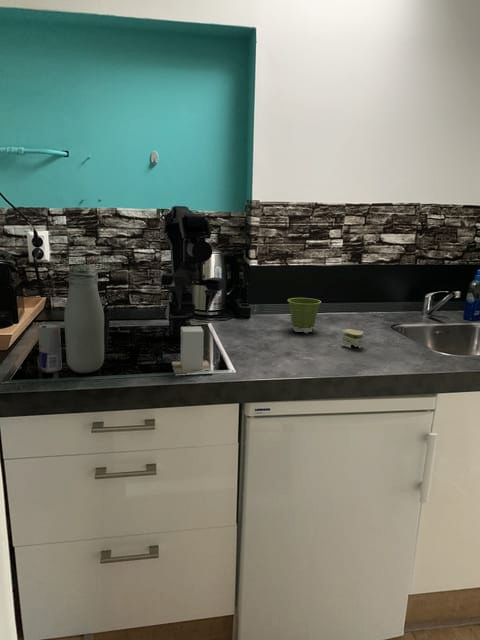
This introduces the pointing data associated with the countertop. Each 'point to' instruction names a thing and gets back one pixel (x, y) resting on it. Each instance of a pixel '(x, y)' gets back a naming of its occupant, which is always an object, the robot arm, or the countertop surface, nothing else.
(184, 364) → the tall pale rectangular prism
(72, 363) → the glass bottle
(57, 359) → the energy drink
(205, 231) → the robot arm
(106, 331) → the cup
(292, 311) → the plant pot
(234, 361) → the countertop surface
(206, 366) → the beige board with block
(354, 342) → the stacked layers on plate
